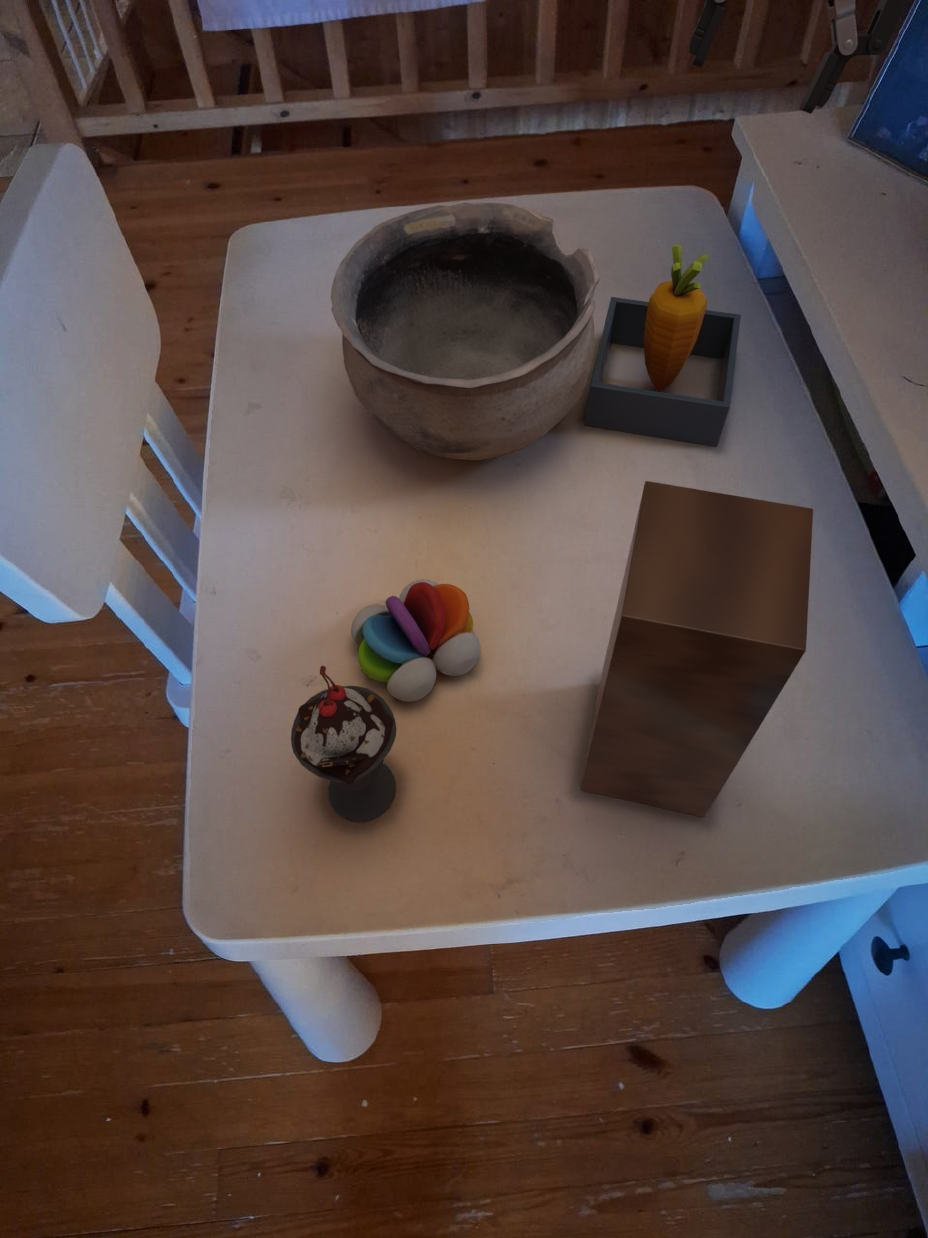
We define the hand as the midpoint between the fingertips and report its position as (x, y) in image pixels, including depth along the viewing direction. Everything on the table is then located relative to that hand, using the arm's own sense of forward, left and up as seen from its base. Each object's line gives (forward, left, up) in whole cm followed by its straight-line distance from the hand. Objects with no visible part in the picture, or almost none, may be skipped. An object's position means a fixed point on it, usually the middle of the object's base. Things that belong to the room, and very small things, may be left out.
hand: (750, 88), depth 65 cm
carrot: (+2, +3, -27) cm, 27 cm away
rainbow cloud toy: (+17, +36, -27) cm, 48 cm away
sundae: (+18, +48, -27) cm, 58 cm away
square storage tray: (+2, +3, -27) cm, 27 cm away
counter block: (-2, +40, -27) cm, 48 cm away
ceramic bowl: (+19, +10, -27) cm, 34 cm away
